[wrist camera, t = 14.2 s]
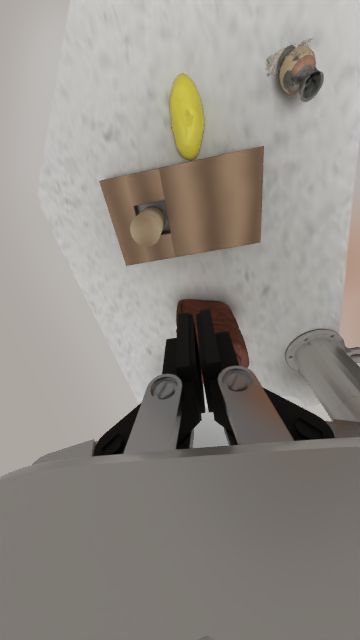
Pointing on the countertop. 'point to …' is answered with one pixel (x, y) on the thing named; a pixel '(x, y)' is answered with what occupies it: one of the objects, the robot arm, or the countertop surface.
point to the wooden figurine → (218, 324)
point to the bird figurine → (297, 70)
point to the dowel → (147, 226)
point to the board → (192, 205)
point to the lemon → (186, 116)
